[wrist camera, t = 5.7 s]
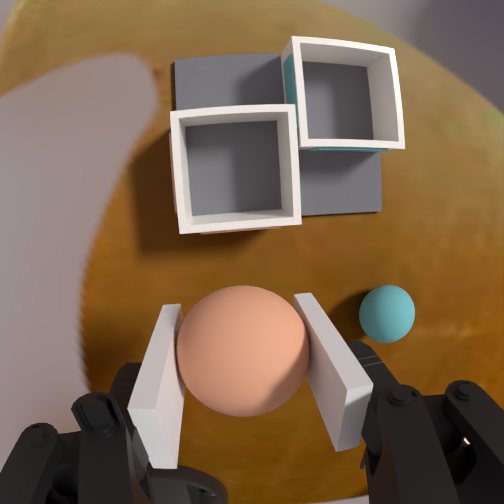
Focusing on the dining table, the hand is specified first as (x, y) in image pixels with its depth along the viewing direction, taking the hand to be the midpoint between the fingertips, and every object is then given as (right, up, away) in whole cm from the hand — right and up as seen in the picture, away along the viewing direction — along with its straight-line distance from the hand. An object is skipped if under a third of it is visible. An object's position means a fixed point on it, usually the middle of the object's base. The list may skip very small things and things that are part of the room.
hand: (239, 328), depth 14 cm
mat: (+3, +12, +9) cm, 16 cm away
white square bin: (+7, +15, +9) cm, 19 cm away
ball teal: (+12, -2, +11) cm, 17 cm away
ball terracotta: (0, 0, -2) cm, 2 cm away
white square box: (-1, +10, +10) cm, 14 cm away
